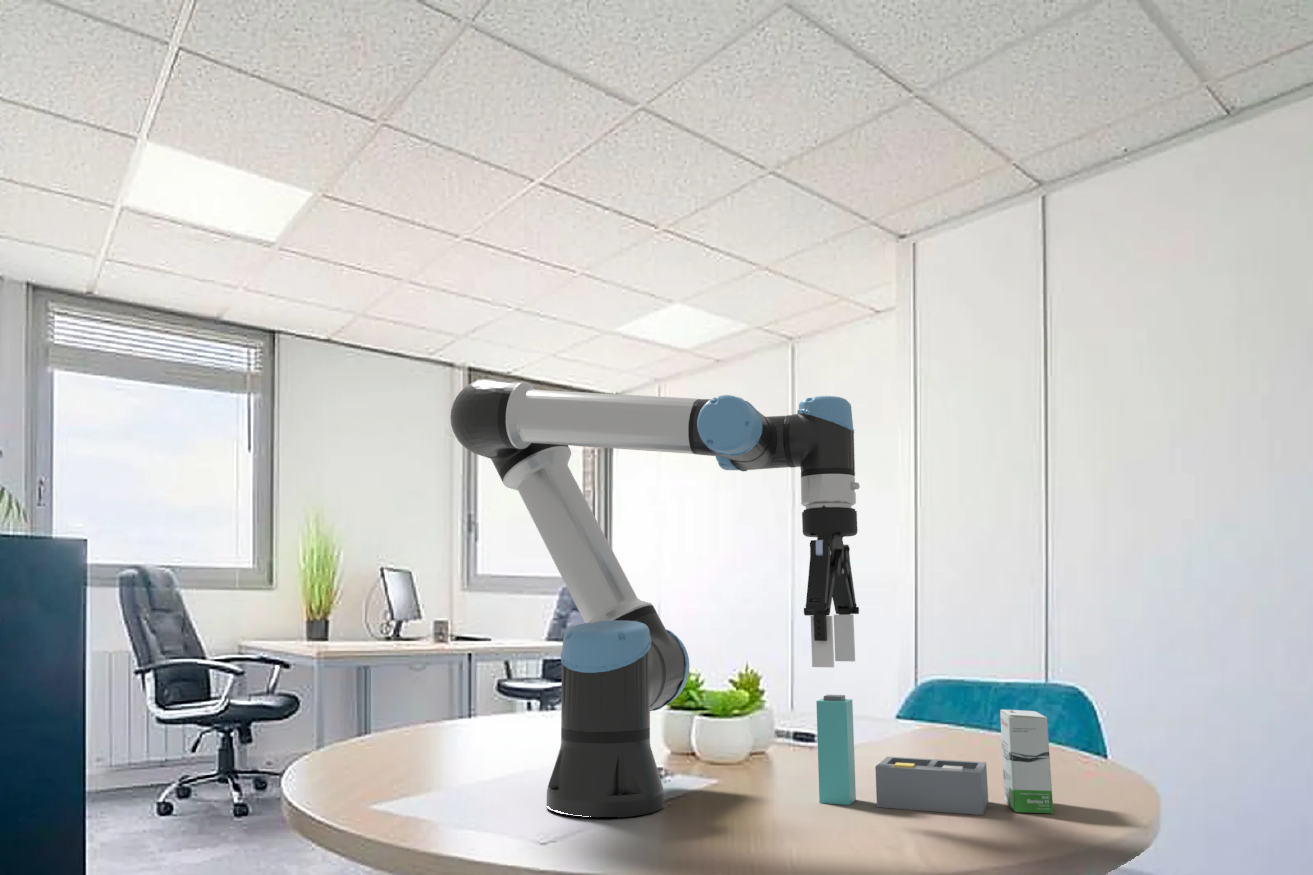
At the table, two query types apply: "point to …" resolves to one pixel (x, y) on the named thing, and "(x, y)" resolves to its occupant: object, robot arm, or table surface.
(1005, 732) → the ink box
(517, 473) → the robot arm
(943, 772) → the socket block
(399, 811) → the table surface
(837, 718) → the plug
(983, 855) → the table surface
